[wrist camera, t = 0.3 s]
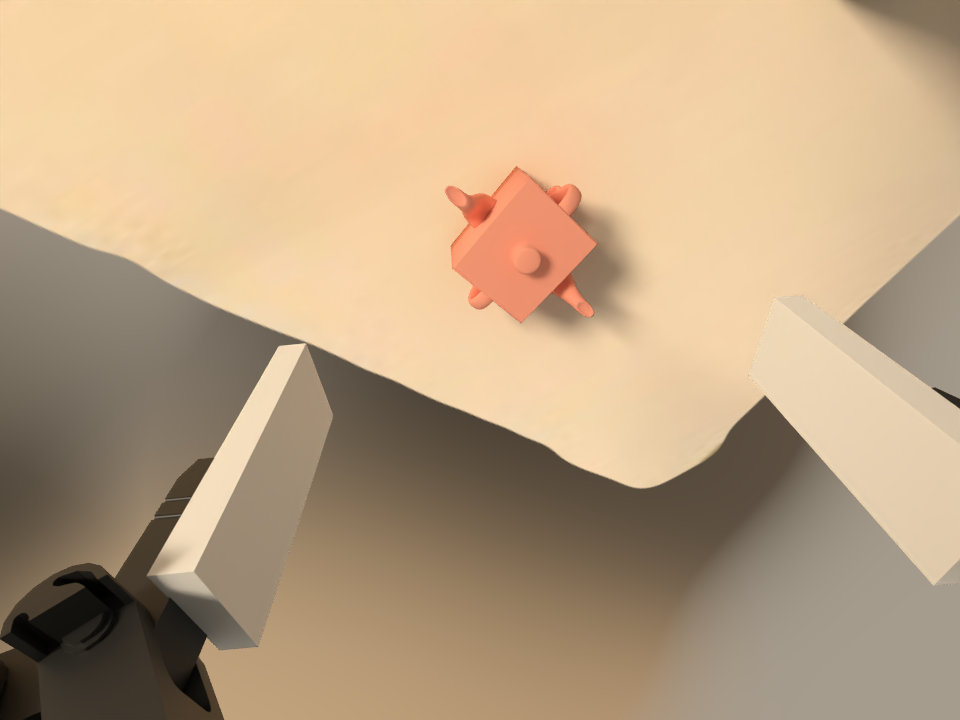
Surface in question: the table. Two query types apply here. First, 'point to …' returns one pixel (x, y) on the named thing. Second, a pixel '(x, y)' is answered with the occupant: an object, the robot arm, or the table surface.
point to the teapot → (520, 245)
